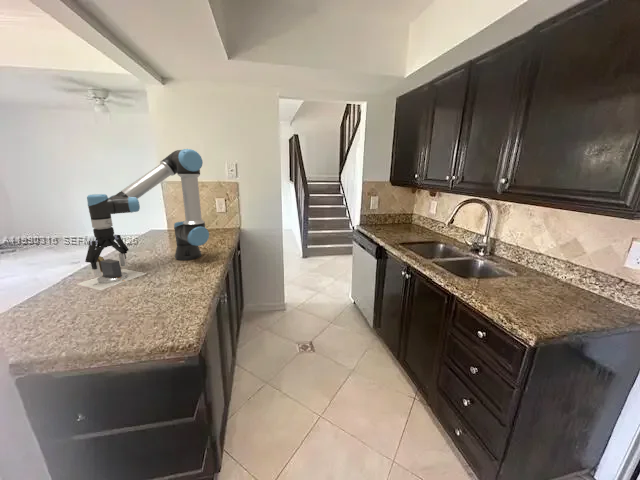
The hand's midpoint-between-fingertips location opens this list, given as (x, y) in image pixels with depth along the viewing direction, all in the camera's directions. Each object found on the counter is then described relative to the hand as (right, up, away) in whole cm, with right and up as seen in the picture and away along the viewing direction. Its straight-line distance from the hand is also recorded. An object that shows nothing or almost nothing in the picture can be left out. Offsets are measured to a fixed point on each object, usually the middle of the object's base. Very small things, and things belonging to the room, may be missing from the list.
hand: (111, 270), depth 132 cm
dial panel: (0, -6, +1) cm, 6 cm away
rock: (-14, -3, +14) cm, 20 cm away
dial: (0, -4, +1) cm, 4 cm away
